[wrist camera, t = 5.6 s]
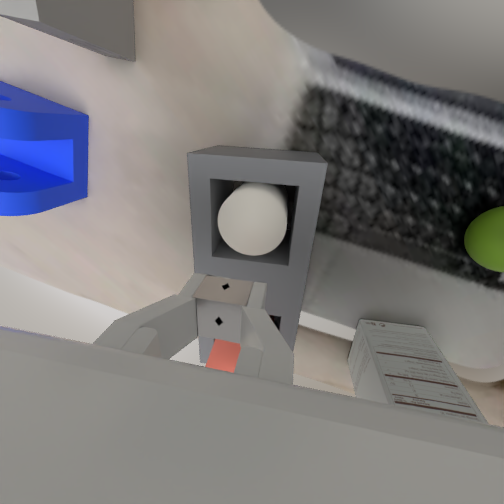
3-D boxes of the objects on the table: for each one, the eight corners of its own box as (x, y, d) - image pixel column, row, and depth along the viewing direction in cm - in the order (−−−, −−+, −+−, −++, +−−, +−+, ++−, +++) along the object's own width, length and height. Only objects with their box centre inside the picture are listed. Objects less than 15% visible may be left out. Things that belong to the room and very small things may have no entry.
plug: (291, 175, 22) (290, 192, 16) (285, 228, 24) (282, 259, 19) (236, 171, 23) (217, 186, 17) (235, 223, 25) (217, 251, 19)
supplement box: (405, 369, 31) (467, 502, 20) (345, 360, 32) (372, 483, 21) (426, 325, 28) (514, 456, 17) (359, 316, 29) (399, 435, 18)
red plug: (276, 302, 24) (271, 358, 18) (272, 340, 26) (265, 401, 20) (225, 295, 24) (203, 347, 18) (225, 333, 26) (206, 390, 21)
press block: (317, 152, 22) (327, 163, 15) (289, 323, 31) (288, 377, 24) (218, 145, 23) (187, 153, 16) (219, 313, 32) (200, 362, 25)
